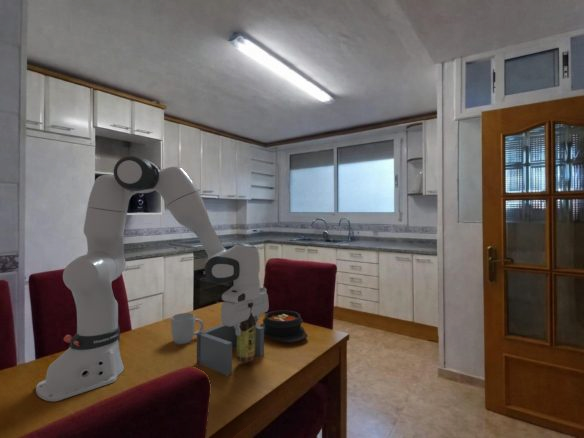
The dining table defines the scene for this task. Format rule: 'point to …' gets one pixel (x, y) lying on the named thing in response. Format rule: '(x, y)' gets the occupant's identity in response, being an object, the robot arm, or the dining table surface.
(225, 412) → the dining table surface
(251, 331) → the sauce bottle
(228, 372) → the folding screen
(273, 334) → the casserole
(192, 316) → the mug
